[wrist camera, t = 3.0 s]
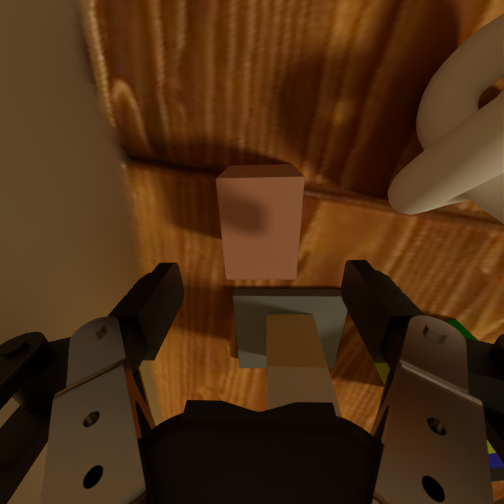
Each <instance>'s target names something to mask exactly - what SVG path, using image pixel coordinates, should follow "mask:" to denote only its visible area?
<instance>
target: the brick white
mask: <svg viewBox="0 0 504 504" xmlns="http://www.w3.org/2000/svg"><path fill="white" fill-rule="evenodd" d="M294 402H331V403H333V405H334V409H335V413H336V416H339V417H342V416H341V412H340V409H339V405H338V401H337V398H336V394H335V391H334V387H333V384H332V380H331V376H330V373H329V369H328V368H316V367H272V366H268V379H267V410H269V409H273V408H276V407H280V406H283V405H287V404H290V403H294Z"/></svg>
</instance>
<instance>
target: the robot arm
mask: <svg viewBox="0 0 504 504" xmlns="http://www.w3.org/2000/svg"><path fill="white" fill-rule="evenodd" d="M341 297H342V300H343V302H344V304H345V306H346V308H347V310H348V312H349V314H350V316H351V318H352V320H353V322H354V324H355V326H356V328H357V330H358V332H359V334H360V336H361V338H362V340H363V342H364V344H365V346H366V348H367V350H368V351H369V353H370V355H371V357H372V359H373V361H374V363H387V364H388V366H389V368H390V370H389V372H388V375H387V378H386V382H385V386H384V389H383V393H382V397H381V401H380V404H379V408H378V412H377V415H376V419H375V422H374V425H373V428H372V430H371V433H368V432H367V431H365V430H364V429H363V428H361V427H360V426H358V425H356V424H354V423H353V422H351V421H349V420H346V419H344V418H342V417H339V416H336V413H335V409H334V405H333V403H331V402H294V403H290V404H287V405H283V406H280V407H276V408H273V409H269V410H266V411H262V412H256V411H252V410H249V409H246V408H243V407H240V406H237V405H234V404H231V403H227V402H224V401H209V400H187V402H186V405H185V409H184V413H181V414H179V415H176V416H174V417H171V418H169V419H167V420H166V421H164V422H162V423H160V424H159V425H157V426H156V425H155V423H154V420H153V417H152V414H151V410H150V407H149V402H148V399H147V395H146V391H145V387H144V383H143V379H142V375H141V372H140V369H139V366H140V364H141V362H142V361H143V360H155V358H156V356H157V354H158V351H159V349H160V347H161V345H162V343H163V341H164V339H165V337H166V335H167V333H168V331H169V329H170V327H171V324H172V322H173V320H174V318H175V316H176V314H177V312H178V310H179V308H180V306H181V304H182V301H183V298H184V287H183V283H182V279H181V274H180V270H179V266H178V264H177V263H159V264H158V265H157V267H156V268H155V269H154V270H153V271H152V273H148V274H147V275H145V276H144V277H142V278H141V279H139V280H138V281H137V283H136V284H135V285H134V286H133V288H131V289H130V291H129V292H128V294H127V295H125V296H124V298H123V299H122V300H121V301H120V302H119V303H118V304H117V306H116V307H115V308H114V309H113V310H112V312H111V313H110V314H109V315H108V316H107V317H101V318H97V319H94V320H92V321H90V322H88V323H86V324H84V325H83V326H81V327H80V328H79V329H78V330H76V331H75V333H74V334H73V335H72V336H71V337H69V338H65V339H60V340H56V341H52V342H48V341H47V339H46V338H45V336H44V335H43V334H42V333H40V332H30V333H26V334H23V335H20V336H17V337H15V338H13V339H11V340H8V341H6V342H5V343H3V344H1V345H0V409H1V408H2V407H3V406H4V405H5V404H6V403H7V402H8V400H9V399H10V398H11V397H13V398H14V399H15V400H16V401H17V402H18V403H19V404H20V406H19V407H18V408H17V410H16V411H15V412H14V413H13V414H12V415H11V416H10V418H9V419H8V420H7V421H6V422H5V423H4V425H3V426H2V427H1V428H0V504H7V502H8V501H9V500H10V498H11V497H12V495H13V493H14V492H15V490H16V489H17V487H18V486H19V484H20V483H21V481H22V480H23V478H24V477H25V475H26V474H27V472H28V471H29V469H30V467H31V466H32V465H33V463H34V462H35V460H36V458H37V457H38V455H39V454H40V452H41V451H42V449H43V448H44V446H45V445H46V443H47V442H48V445H47V454H46V463H45V470H44V478H43V487H42V495H41V504H494V502H493V493H492V484H491V474H490V465H489V456H488V446H487V440H488V442H489V443H490V445H491V446H492V448H493V449H494V450H495V452H496V453H497V455H498V456H499V458H500V459H501V460H502V462H503V463H504V334H502V335H500V336H499V337H498V339H497V340H496V341H495V343H494V344H490V343H486V342H481V341H477V340H472V339H468V338H464V337H463V335H462V334H461V333H460V332H459V331H458V330H457V329H456V328H454V327H453V326H451V325H450V324H448V323H446V322H444V321H442V320H440V319H437V318H434V317H430V316H425V315H424V314H423V313H422V312H421V311H420V310H419V309H418V308H417V306H416V305H415V304H414V303H413V302H412V301H411V300H410V299H409V298H408V297H407V296H406V295H405V294H404V293H402V290H401V289H400V288H399V287H398V286H396V284H395V283H394V282H393V281H392V280H391V279H390V277H388V276H387V275H385V274H383V273H382V272H380V271H378V270H374V269H373V268H372V266H371V265H370V264H369V263H368V262H367V261H366V260H348V261H347V262H346V264H345V269H344V275H343V280H342V285H341Z"/></svg>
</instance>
